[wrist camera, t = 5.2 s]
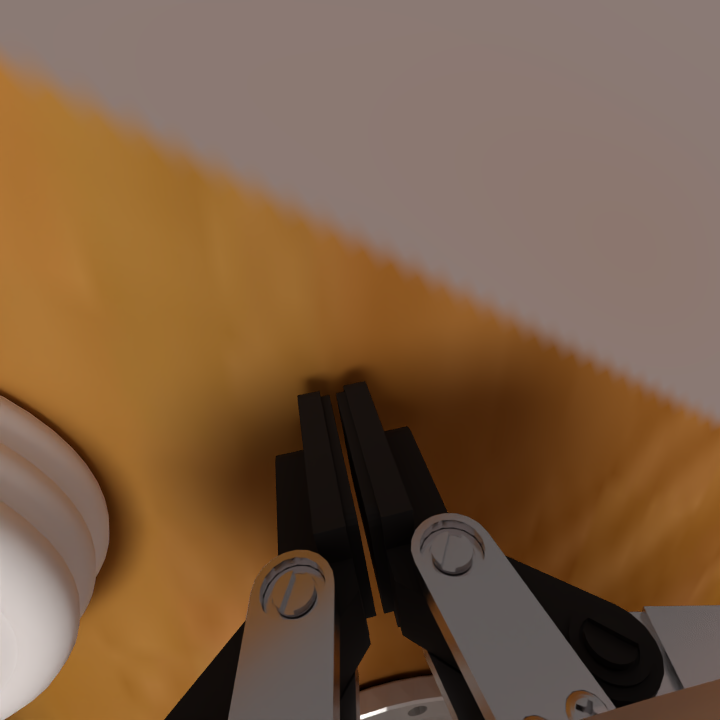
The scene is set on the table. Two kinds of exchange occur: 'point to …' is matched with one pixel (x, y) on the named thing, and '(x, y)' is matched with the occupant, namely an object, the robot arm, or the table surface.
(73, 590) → the white round tub
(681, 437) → the table surface
